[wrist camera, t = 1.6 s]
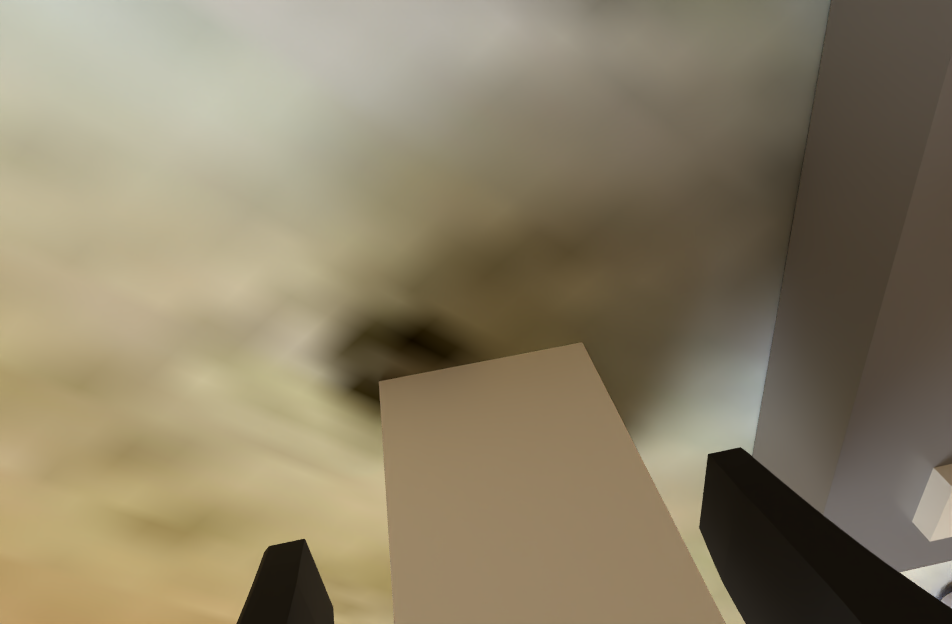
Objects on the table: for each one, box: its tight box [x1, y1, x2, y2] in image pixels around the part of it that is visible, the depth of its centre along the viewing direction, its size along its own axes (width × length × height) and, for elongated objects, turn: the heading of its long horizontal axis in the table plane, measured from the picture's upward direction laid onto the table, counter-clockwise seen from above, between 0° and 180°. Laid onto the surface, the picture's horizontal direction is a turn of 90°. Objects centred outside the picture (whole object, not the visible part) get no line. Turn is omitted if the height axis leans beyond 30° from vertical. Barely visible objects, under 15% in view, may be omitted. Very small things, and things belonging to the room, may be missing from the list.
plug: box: [379, 342, 726, 624], centre depth 11 cm, size 4×4×7 cm
